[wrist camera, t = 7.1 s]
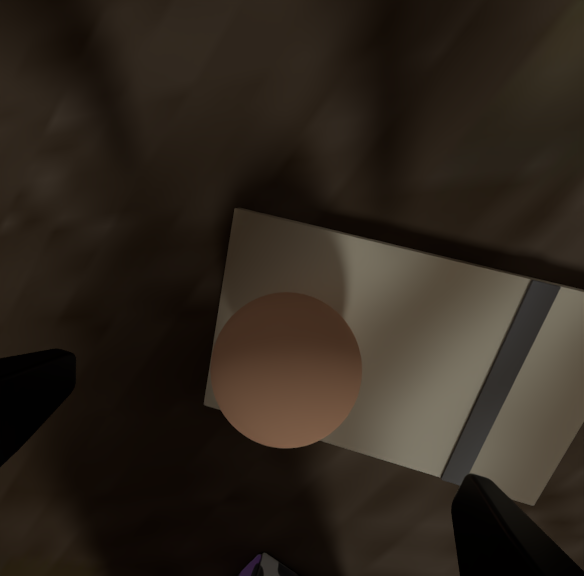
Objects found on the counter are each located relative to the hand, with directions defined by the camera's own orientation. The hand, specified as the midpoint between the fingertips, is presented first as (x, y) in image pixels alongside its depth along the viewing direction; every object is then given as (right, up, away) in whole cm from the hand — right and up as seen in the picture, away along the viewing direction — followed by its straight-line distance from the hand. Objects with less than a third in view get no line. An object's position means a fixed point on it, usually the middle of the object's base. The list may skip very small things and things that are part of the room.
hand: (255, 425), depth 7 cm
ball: (+1, +1, +5) cm, 5 cm away
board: (+4, 0, +5) cm, 7 cm away
